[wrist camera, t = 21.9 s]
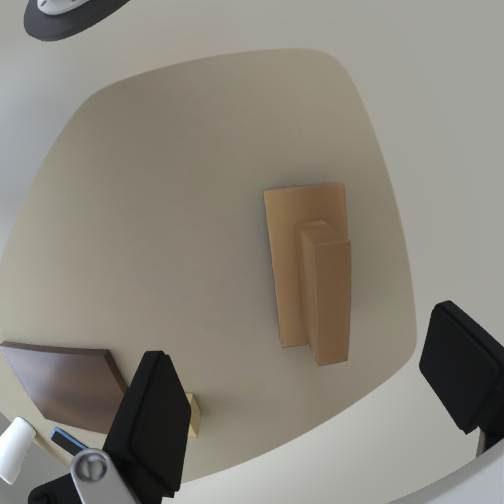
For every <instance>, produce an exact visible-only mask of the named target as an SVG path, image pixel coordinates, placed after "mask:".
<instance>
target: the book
mask: <svg viewBox="0 0 504 504" xmlns="http://www.w3.org/2000/svg"><path fill="white" fill-rule="evenodd" d="M0 348H1V350H2V352H3V354H4V356H5V358H6V359H7V361H8V363H9V365H10V366H11V368H12V370H13V372H14V373H15V375H16V377H17V378H18V380H19V381H20V383H21V385H22V386H23V388H24V389H25V391H26V392H27V394H28V395H29V397H30V398H31V400H32V401H33V403H34V404H35V405H36V407H37V408H38V409H39V411H40V412H41V414H42V415H43V416H44V417H45V419H48V420H51V421H55V422H58V423H62V424H65V425H69V426H73V427H77V428H81V429H85V430H89V431H94V432H99V433H104V434H108V433H109V430H110V428H111V425H112V423H113V420H114V418H115V416H116V413H117V411H118V408H119V406H120V404H121V401H122V399H123V397H124V394H125V392H126V391H127V389H128V388H127V386H126V385H125V383H124V381H123V379H122V377H121V375H120V373H119V371H118V369H117V367H116V365H115V363H114V361H113V358H112V356H111V354H110V352H109V350H104V349H77V348H61V347H48V346H37V345H28V344H19V343H12V342H3V343H2V344H0Z"/></svg>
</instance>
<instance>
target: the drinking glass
mask: <svg viewBox="0 0 504 504" xmlns="http://www.w3.org/2000/svg"><path fill="white" fill-rule="evenodd" d="M35 436H36V432H35V430H34V428H33V427H32V426H31V425H30V424H29V423H28V422H27V421H25V420H24V419H22V418H20V417H16V418H15V419H14V421H13V422H12V424H11V425H10V426H9V427H8V428H7V429H6V431H5V432H4V433H3V434H2V435H1V437H0V477H1V478H2V479H4V480H5V481H6V482H7V483H9V484H11V485H13V483H14V482H15V480H16V478H17V476H18V474H19V472H20V470H21V467H22V465H23V462H24V460H25V458H26V455H27V453H28V451H29V448H30V446H31V444H32V442H33V440H34V438H35Z"/></svg>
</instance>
